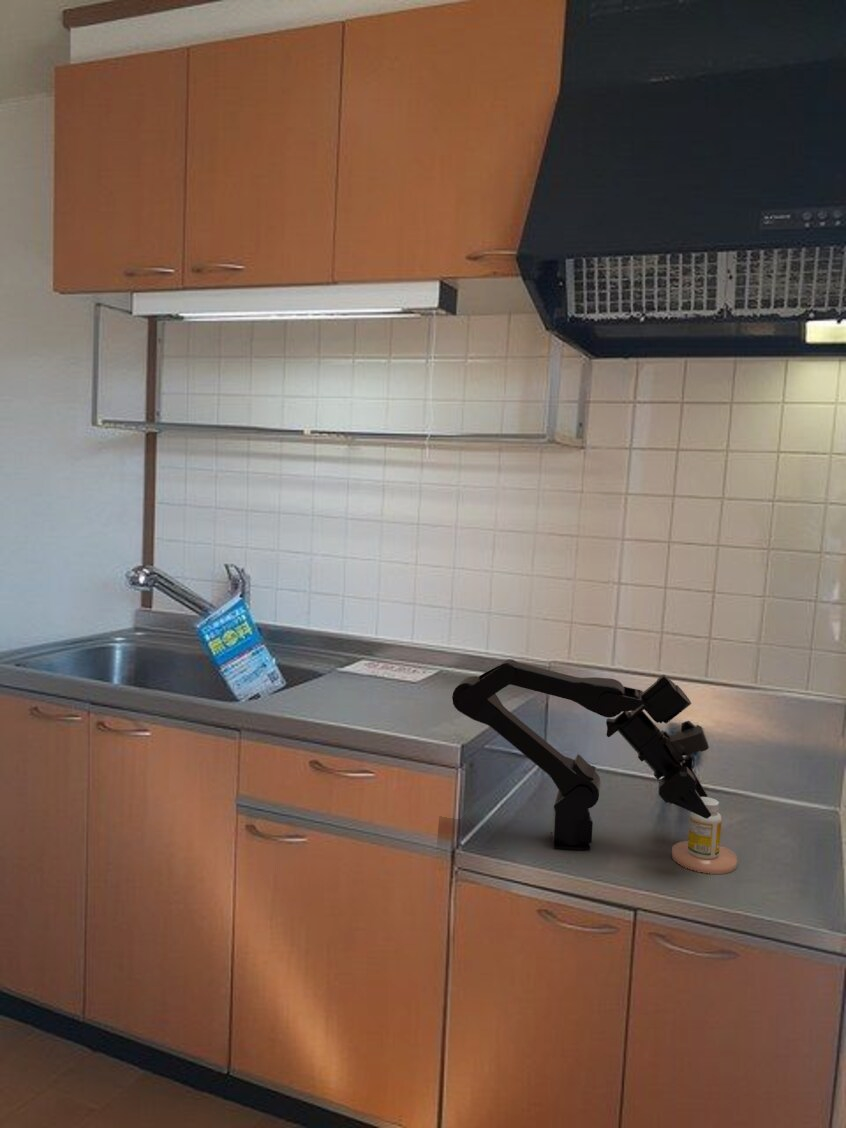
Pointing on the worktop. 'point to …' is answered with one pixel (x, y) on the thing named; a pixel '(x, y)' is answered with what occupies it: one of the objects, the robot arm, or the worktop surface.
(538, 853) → the worktop surface
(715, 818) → the supplement bottle
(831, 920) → the worktop surface
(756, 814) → the worktop surface
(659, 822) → the worktop surface
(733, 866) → the saucer
